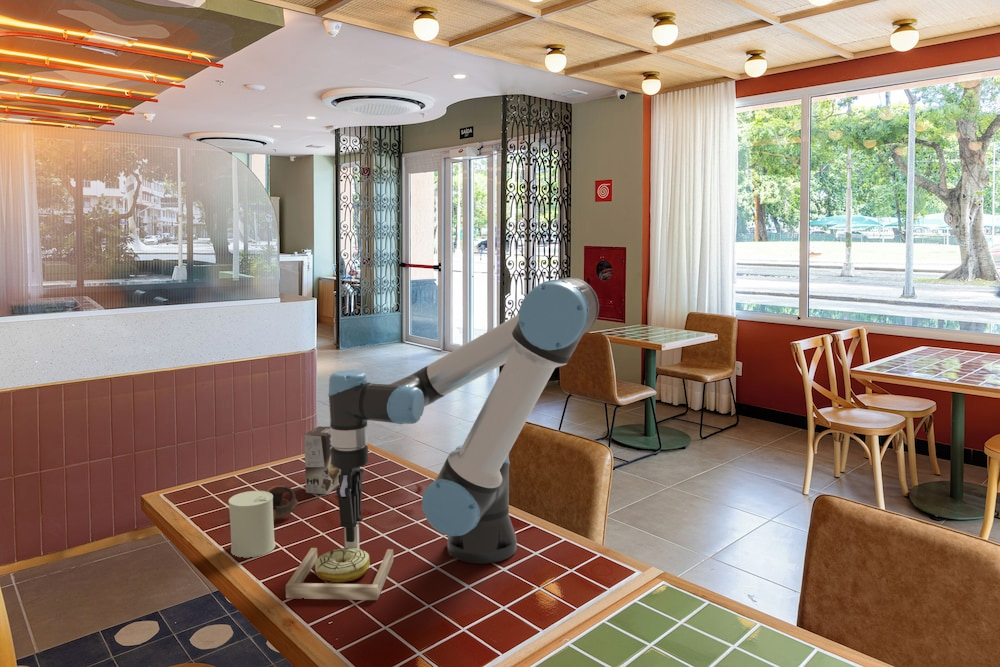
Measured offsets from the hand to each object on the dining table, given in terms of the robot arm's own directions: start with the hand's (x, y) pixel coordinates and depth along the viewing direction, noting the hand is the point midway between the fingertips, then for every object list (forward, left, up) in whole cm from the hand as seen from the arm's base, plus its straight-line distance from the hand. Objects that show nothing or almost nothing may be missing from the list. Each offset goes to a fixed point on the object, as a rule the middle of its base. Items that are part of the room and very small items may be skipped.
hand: (352, 553), depth 149 cm
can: (+23, -4, -2) cm, 23 cm away
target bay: (0, +8, -1) cm, 8 cm away
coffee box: (+18, -41, -2) cm, 45 cm away
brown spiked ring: (+25, -23, -2) cm, 34 cm away
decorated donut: (0, +6, -2) cm, 6 cm away
